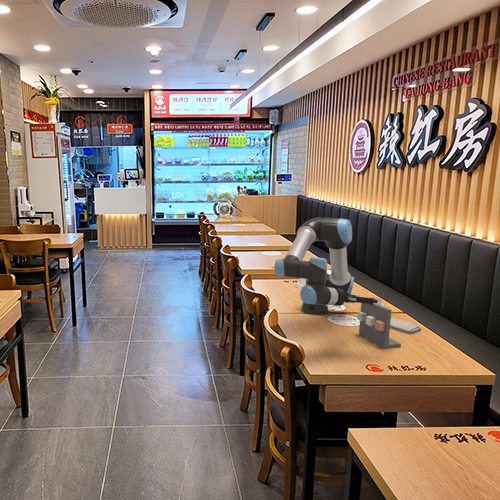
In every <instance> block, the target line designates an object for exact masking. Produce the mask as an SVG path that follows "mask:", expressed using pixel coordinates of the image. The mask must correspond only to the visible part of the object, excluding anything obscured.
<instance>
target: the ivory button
mask: <svg viewBox="0 0 500 500" xmlns="http://www.w3.org/2000/svg"><path fill="white" fill-rule="evenodd" d="M375 321H376V317H374V316H366V324H367V325H369V326H375Z"/></svg>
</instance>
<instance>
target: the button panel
mask: <svg viewBox="0 0 500 500" xmlns="http://www.w3.org/2000/svg"><path fill="white" fill-rule="evenodd" d="M362 311H363V312H365V313H367V316H374V317H376V321H378V320H382V321H384V322H385V330H384V331H379V330H377V329H375V326H369V325H367V324H366V321H360V320H359V327H358V328H359V329H358V335H360V336H362V337H363V338H365V339H367V340H368V341H370V342H372V343H373V344H376V345H378V346H379V347H381V348H382V349H384V350H385V349H394V348H401V347H402V343H401V342H399V341H397V340H395V339H393V338H391V337H390V331H391V329H390V321H391V319H392V309H390V308H388V307H386V306H385V305H384V306H382V305H376V304H373V305H371V306H370V304H366V303H360V312H362Z"/></svg>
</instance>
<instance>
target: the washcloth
mask: <svg viewBox="0 0 500 500" xmlns="http://www.w3.org/2000/svg"><path fill="white" fill-rule="evenodd" d="M390 330H394V331H397V332H400V333H403V334H407V335H413V334H415V333H418V332H421V331H422V327H421V326H420V325H417V324H415V323H413V322H411V321H410V322H409V321H405V320H402V319H398V318H394V317H391V321H390Z"/></svg>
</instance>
